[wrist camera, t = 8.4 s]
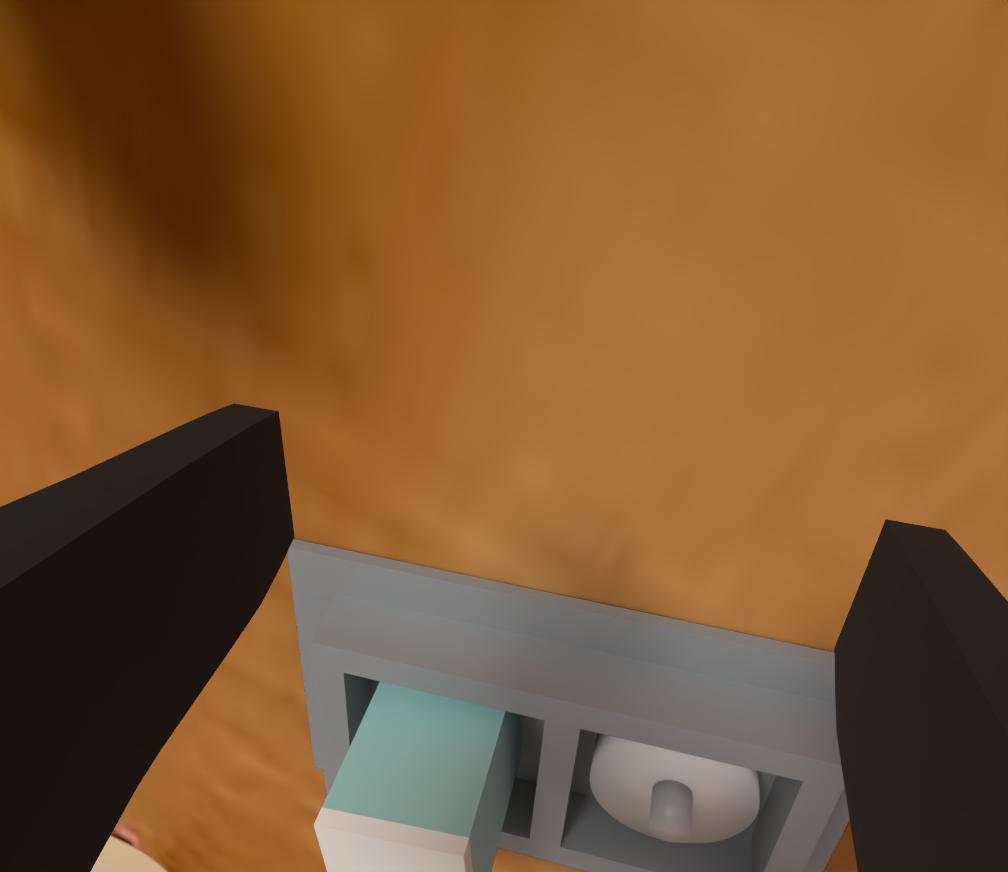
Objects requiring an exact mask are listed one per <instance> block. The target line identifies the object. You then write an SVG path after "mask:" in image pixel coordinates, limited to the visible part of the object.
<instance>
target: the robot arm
mask: <svg viewBox="0 0 1008 872" xmlns="http://www.w3.org/2000/svg"><path fill="white" fill-rule="evenodd" d="M293 539H294V529H293V522H292V514H291V506H290V498H289V490H288V482H287V474H286V466H285V458H284V451H283V443H282V435H281V427H280V419H279V412H278V411H273V410H267V409H261V408H256V407H250V406H244V405H239V404H232V405H229V406H227V407H224V408H221V409H218V410H216V411H213V412H211V413H209V414H206V415H204V416H202V417H199V418H197V419H195V420H193V421H190V422H188V423H186V424H184V425H182V426H179V427H177V428H175V429H173V430H171V431H169V432H166V433H164V434H162V435H160V436H158V437H156V438H154V439H152V440H149V441H147V442H145V443H143V444H141V445H139V446H137V447H134V448H132V449H130V450H128V451H126V452H124V453H122V454H119V455H117V456H115V457H113V458H111V459H109V460H106V461H104V462H102V463H100V464H98V465H96V466H94V467H91V468H89V469H87V470H85V471H83V472H81V473H78V474H76V475H74V476H72V477H70V478H67V479H65V480H63V481H60V482H58V483H56V484H53V485H51V486H49V487H46V488H44V489H42V490H39V491H37V492H35V493H32V494H30V495H27V496H25V497H23V498H20V499H18V500H16V501H13V502H11V503H9V504H6V505H4V506H2V507H0V872H90V871H91V869H92V868H93V866H94V864H95V862H96V860H97V858H98V857H99V854H100V853H101V851H102V849H103V848H104V846H105V844H106V842H107V840H108V839H109V837H110V835H111V833H112V831H113V830H114V828H115V826H116V824H117V822H118V821H119V819H120V817H121V815H122V813H123V812H124V810H125V808H126V806H127V804H128V803H129V801H130V799H131V797H132V795H133V794H134V792H135V790H136V788H137V787H138V785H139V783H140V782H141V780H142V779H143V777H144V775H145V774H146V772H147V771H148V769H149V768H150V766H151V764H152V763H153V761H154V760H155V758H156V757H157V755H158V753H159V752H160V750H161V749H162V747H163V746H164V745H165V743H166V742H167V740H168V739H169V737H170V736H171V734H172V733H173V732H174V730H175V729H176V727H177V726H178V724H179V723H180V721H181V720H182V719H183V717H184V716H185V714H186V713H187V711H188V710H189V709H190V707H191V706H192V704H193V703H194V701H195V700H196V698H197V697H198V696H199V694H200V693H201V691H202V690H203V688H204V687H205V685H206V684H207V683H208V681H209V680H210V678H211V677H212V675H213V674H214V672H215V671H216V670H217V668H218V667H219V665H220V664H221V662H222V661H223V660H224V658H225V657H226V655H227V654H228V652H229V651H230V649H231V648H232V646H233V645H234V643H235V642H236V640H237V639H238V638H239V636H240V635H241V633H242V632H243V630H244V629H245V627H246V626H247V624H248V623H249V621H250V620H251V618H252V617H253V615H254V614H255V612H256V611H257V609H258V608H259V606H260V605H261V603H262V601H263V599H264V597H265V595H266V594H267V592H268V590H269V588H270V586H271V584H272V582H273V580H274V578H275V576H276V575H277V573H278V570H279V568H280V566H281V564H282V562H283V560H284V558H285V556H286V554H287V552H288V550H289V548H290V545H291V543H292V541H293ZM835 705H836V732H837V739H838V746H839V753H840V759H841V766H842V772H843V779H844V785H845V792H846V798H847V805H848V811H849V817H850V824H851V830H852V836H853V842H854V848H855V855H856V861H857V867H858V872H1008V601H1007V600H1006V599H1005V598H1004V597H1003V596H1002V594H1001V593H1000V592H999V591H998V590H997V588H996V587H995V586H994V585H993V584H992V583H991V581H990V580H989V579H988V578H987V577H986V576H985V574H984V573H983V572H982V571H981V570H980V569H979V567H978V566H977V565H976V564H975V563H974V562H973V560H972V559H971V558H970V557H969V556H968V555H967V553H966V552H965V551H964V550H963V549H962V548H961V547H960V545H959V544H958V543H957V542H956V541H955V540H954V539H953V538H952V537H951V536H950V535H949V533H948V532H947V531H946V530H942V529H936V528H931V527H925V526H920V525H914V524H908V523H903V522H897V521H891V520H885V523H884V525H883V528H882V530H881V533H880V536H879V538H878V541H877V543H876V546H875V548H874V551H873V553H872V556H871V558H870V561H869V563H868V566H867V568H866V571H865V573H864V576H863V578H862V581H861V583H860V586H859V588H858V591H857V593H856V596H855V598H854V601H853V603H852V606H851V608H850V611H849V613H848V616H847V618H846V621H845V623H844V626H843V628H842V631H841V633H840V636H839V638H838V641H837V643H836V646H835Z"/></svg>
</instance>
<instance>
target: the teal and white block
mask: <svg viewBox="0 0 1008 872" xmlns="http://www.w3.org/2000/svg"><path fill="white" fill-rule="evenodd" d="M520 756H521V733H520V714H516V713H512V712H507V711H503V710H499V709H495V708H491V707H486V706H482V705H478V704H474V703H469V702H465V701H461V700H457V699H453V698H448V697H444V696H440V695H436V694H431V693H427V692H423V691H419V690H415V689H410V688H406V687H402V686H398V685H393V684H389V683H385V682H381V681H380V682H379V684H378V687H377V689H376V691H375V693H374V695H373V697H372V700H371V702H370V704H369V706H368V708H367V711H366V713H365V715H364V717H363V719H362V721H361V724H360V726H359V728H358V730H357V732H356V734H355V737H354V739H353V741H352V743H351V745H350V747H349V750H348V752H347V754H346V756H345V758H344V760H343V763H342V765H341V767H340V769H339V771H338V774H337V776H336V778H335V780H334V782H333V784H332V787H331V789H330V791H329V793H328V795H327V797H326V800H325V802H324V804H323V806H322V808H321V810H320V813H319V815H318V817H317V819H316V821H315V824H314V827H315V831H316V834H317V838H318V841H319V845H320V848H321V852H322V855H323V858H324V862H325V865H326V869H327V872H491V870H492V866H493V863H494V859H495V855H496V851H497V847H498V843H499V839H500V835H501V831H502V827H503V823H504V819H505V815H506V811H507V807H508V804H509V800H510V796H511V792H512V788H513V784H514V780H515V776H516V772H517V768H518V764H519V760H520Z"/></svg>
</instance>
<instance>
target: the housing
mask: <svg viewBox="0 0 1008 872" xmlns="http://www.w3.org/2000/svg"><path fill="white" fill-rule="evenodd" d="M288 560H289V568H290V576H291V584H292V592H293V600H294V608H295V616H296V624H297V632H298V640H299V647H300V655H301V663H302V671H303V679H304V687H305V695H306V703H307V711H308V719H309V727H310V735H311V743H312V751H313V759H314V766H315V768H317V769H321V770H324V777H325V785H326V794H327V795H328V793H329V791H330V789H331V787H332V784H333V782H334V780H335V778H336V776H337V774H338V771H339V769H340V767H341V765H342V763H343V760H344V758H345V756H346V754H347V752H348V750H349V747H350V745H351V743H352V741H353V739H354V737H355V734H356V732H357V730H358V728H359V726H360V724H361V721H362V719H363V717H364V715H365V713H366V711H367V708H368V706H369V704H370V702H371V700H372V697H373V695H374V693H375V691H376V689H377V687H378V684H379V682H380V681H381V682H385V683H389V684H393V685H398V686H402V687H406V688H410V689H415V690H419V691H423V692H427V693H431V694H436V695H440V696H444V697H448V698H453V699H457V700H461V701H465V702H469V703H474V704H478V705H482V706H486V707H491V708H495V709H499V710H503V711H507V712H512V713H516V714H520V733H521V756H520V760H519V764H518V768H517V772H516V776H515V780H514V784H513V788H512V792H511V796H510V800H509V804H508V807H507V811H506V815H505V819H504V823H503V827H502V831H501V835H500V839H499V843H498V847H497V848H500V849H504V850H507V851H511V852H515V853H519V854H522V855H526V856H530V857H534V858H537V859H541V860H545V861H549V862H553V863H556V864H560V865H564V866H568V867H571V868H575V869H579V870H583V871H586V872H823V871H824V869H825V867H826V865H827V863H828V861H829V859H830V857H831V855H832V853H833V851H834V850H835V848H836V846H837V844H838V842H839V840H840V838H841V836H842V834H843V832H844V830H845V828H846V826H847V824H848V822H849V820H850V817H849V811H848V805H847V798H846V792H845V785H844V779H843V772H842V766H841V759H840V753H839V746H838V739H837V732H836V705H835V653H834V652H830V651H825V650H820V649H815V648H811V647H806V646H801V645H796V644H792V643H787V642H782V641H777V640H773V639H768V638H763V637H758V636H754V635H749V634H744V633H739V632H734V631H730V630H725V629H720V628H715V627H711V626H706V625H701V624H696V623H692V622H687V621H682V620H677V619H673V618H668V617H663V616H658V615H654V614H649V613H644V612H639V611H635V610H630V609H625V608H620V607H615V606H611V605H606V604H601V603H596V602H592V601H587V600H582V599H577V598H573V597H568V596H563V595H558V594H554V593H549V592H544V591H539V590H535V589H530V588H525V587H520V586H516V585H511V584H506V583H501V582H496V581H492V580H487V579H482V578H477V577H473V576H468V575H463V574H458V573H454V572H449V571H444V570H439V569H435V568H430V567H425V566H420V565H416V564H411V563H406V562H401V561H397V560H392V559H387V558H382V557H378V556H373V555H368V554H363V553H358V552H354V551H349V550H344V549H339V548H335V547H330V546H325V545H320V544H316V543H311V542H306V541H301V540H297V539H293V541H292V543H291V545H290V548H289V550H288Z"/></svg>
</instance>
